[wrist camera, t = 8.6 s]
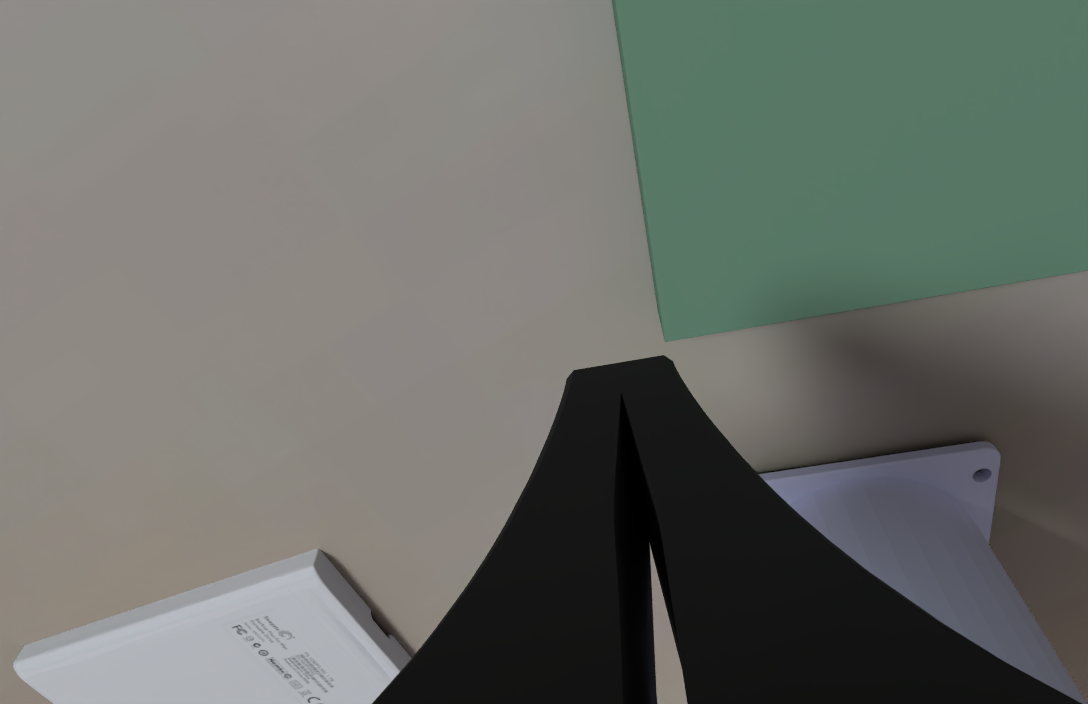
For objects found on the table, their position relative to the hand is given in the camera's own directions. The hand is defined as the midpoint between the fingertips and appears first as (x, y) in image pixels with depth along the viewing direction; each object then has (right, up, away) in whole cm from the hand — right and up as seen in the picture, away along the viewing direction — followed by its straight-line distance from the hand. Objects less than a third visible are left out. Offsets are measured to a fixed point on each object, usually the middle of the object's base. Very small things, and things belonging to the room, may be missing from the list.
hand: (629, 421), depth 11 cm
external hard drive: (-13, -10, +19) cm, 25 cm away
